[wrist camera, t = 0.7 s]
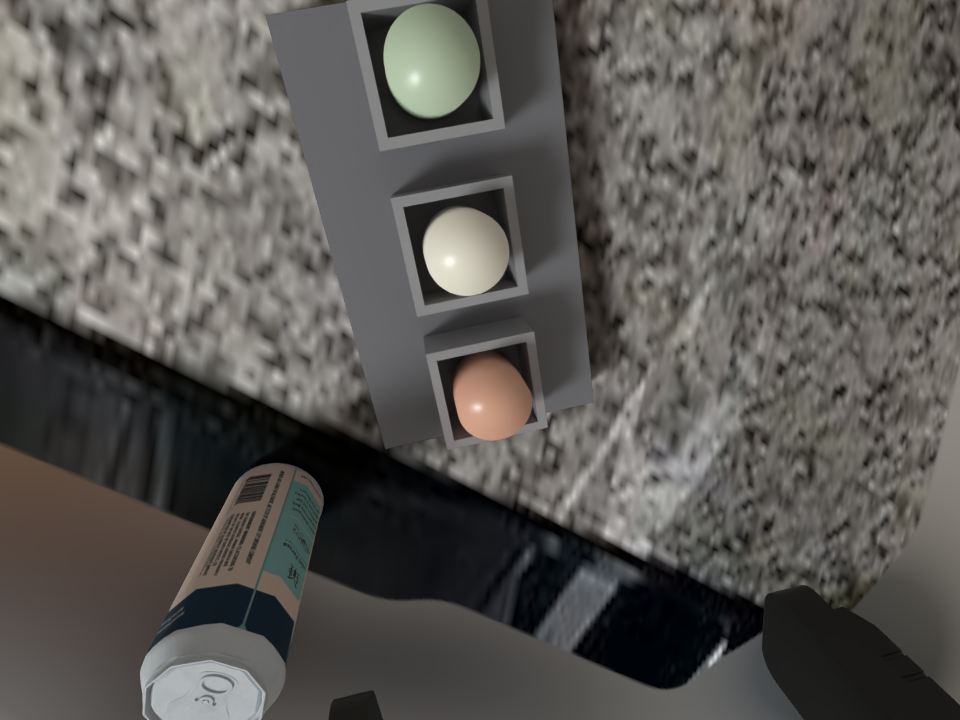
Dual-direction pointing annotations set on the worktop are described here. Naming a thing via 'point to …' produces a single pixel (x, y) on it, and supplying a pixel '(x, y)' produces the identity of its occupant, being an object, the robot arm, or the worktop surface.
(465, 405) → the terracotta button
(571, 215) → the grey boxy piece
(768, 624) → the robot arm
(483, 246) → the cream button
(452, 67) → the sage button
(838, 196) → the worktop surface
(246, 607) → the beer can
